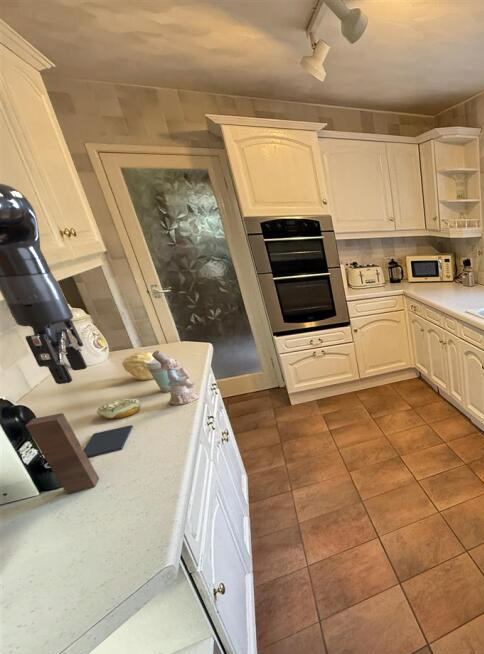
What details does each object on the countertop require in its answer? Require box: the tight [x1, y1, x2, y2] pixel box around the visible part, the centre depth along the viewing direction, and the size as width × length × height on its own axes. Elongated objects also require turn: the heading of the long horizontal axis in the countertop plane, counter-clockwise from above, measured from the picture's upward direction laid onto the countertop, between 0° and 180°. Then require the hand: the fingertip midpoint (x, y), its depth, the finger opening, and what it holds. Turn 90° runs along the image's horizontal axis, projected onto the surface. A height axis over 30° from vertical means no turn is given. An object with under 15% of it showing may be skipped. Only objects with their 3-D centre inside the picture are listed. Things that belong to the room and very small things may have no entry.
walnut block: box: [25, 412, 100, 495], centre depth 93 cm, size 4×5×19 cm
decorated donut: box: [96, 398, 141, 420], centre depth 132 cm, size 10×11×4 cm
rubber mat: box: [83, 424, 133, 459], centre depth 116 cm, size 16×9×1 cm, turn 33°
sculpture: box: [121, 351, 155, 381], centre depth 161 cm, size 11×12×11 cm
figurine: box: [152, 350, 199, 406], centre depth 137 cm, size 9×8×20 cm
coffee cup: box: [146, 358, 178, 393], centre depth 149 cm, size 8×8×12 cm
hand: (73, 375), depth 82 cm, fingers open, 8 cm apart
